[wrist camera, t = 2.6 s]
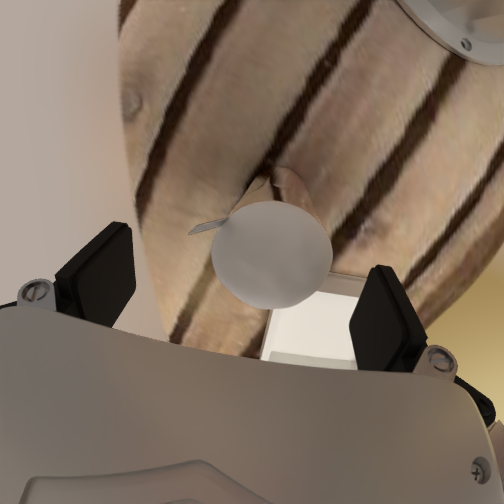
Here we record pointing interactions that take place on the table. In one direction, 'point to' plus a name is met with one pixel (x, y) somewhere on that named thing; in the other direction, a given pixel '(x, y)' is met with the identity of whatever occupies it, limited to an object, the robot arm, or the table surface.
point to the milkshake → (271, 243)
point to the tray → (316, 327)
